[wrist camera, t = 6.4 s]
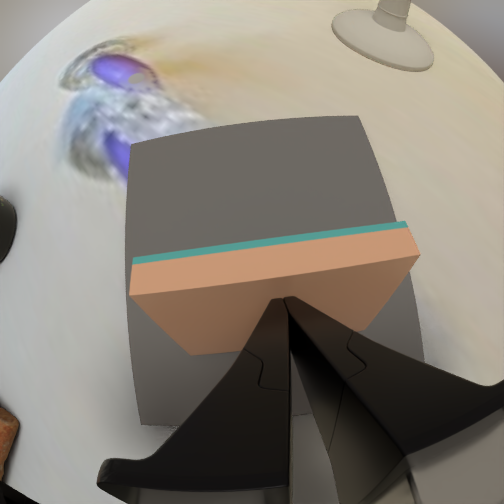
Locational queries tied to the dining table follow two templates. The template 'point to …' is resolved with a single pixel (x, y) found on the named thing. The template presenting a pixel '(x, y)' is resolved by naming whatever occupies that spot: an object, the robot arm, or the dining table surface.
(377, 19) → the candlestick
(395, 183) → the dining table surface
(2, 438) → the ceramic shard
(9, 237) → the supplement bottle
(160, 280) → the tile
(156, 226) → the mat
